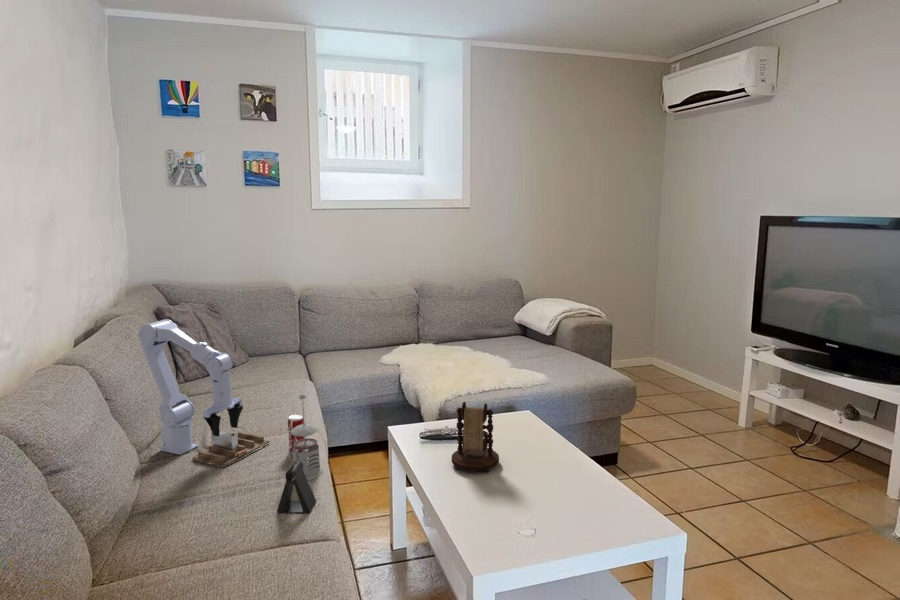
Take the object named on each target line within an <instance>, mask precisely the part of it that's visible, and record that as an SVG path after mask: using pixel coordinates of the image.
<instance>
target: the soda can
mask: <svg viewBox="0 0 900 600" xmlns="http://www.w3.org/2000/svg"><path fill="white" fill-rule="evenodd" d="M302 424H305V418H304V419H303V414H293V415H290V416H288V420H287V431H288V446H290V449H289V453H291V454H292V453H293V447H294V446H293V443H294V440H295V442H296V441H297V440H301V439H305V438H306V436H303V437H298V436H294V435H292V434H291V430H292V429H294V428H295V427H297V426H299V425H302ZM293 439H294V440H293ZM292 440H293V441H292ZM291 441H292V443H291ZM290 443H291V445H290ZM294 452H306V450H294Z"/></svg>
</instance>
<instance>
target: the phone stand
mask: <svg viewBox="0 0 900 600" xmlns="http://www.w3.org/2000/svg"><path fill="white" fill-rule="evenodd" d="M295 463H296V461H295V462H294V463H292V464H291V465H290V467H289V468H288V470H287V471H286V472H285V475H284V476H285V484H284V487H283V490H282V493H281V496H280V497H281V498H280V500H279V503H278V506H277V510H276V513H277V514H300V515H301V514H304V515H305V514H306V515H307V514H310V513H312V512H311V511H312V510H313V508H314V506H315V504H316V503H317V499H316V497H315V494H314V492H313V491H312V487H311V485H310V483H309V480H307V478H306V476H305V474H304V471H303V463H302V462H300V461H299V462H298V461H297V463H298V464H297V465H296V466H295V468H294V465H295ZM294 488H295V492H296V495H297V497H298V500H292V495H293V490H294Z"/></svg>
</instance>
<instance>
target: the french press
mask: <svg viewBox="0 0 900 600" xmlns="http://www.w3.org/2000/svg"><path fill="white" fill-rule="evenodd" d="M306 398H307V396H306V394H305V393H301V394H300V395H299V399H300V400H301V401H302V404H304V399H306ZM302 413H303V414H302V416H303V419H304V420H305V411H304V406H302ZM318 431H319V427H318V426H316V425H313V424H311V423H310V424H309V423H304V424H302V425H299V426H297V427H295V428H294V429H292V430H291V434H292V435H294V436H298V437H303V436H305V439H301V440H297V441H296V442H295V440H294V439H293V440H294V443H293V446H294V447H293V454H292V459H291V455H290V446H289V445H288V446H289V447H288V454H287V455H288V459H289V461H290V462H291V463H292V464H293V463H294V462H295V461H296V463H295V465H294V468H295V466H296V465H297V464H298V462H299V461H300V462H302V463H303V471H304V474H305V476H306V478H307V481H311V480H315V479H317V478H320V477H322V475H323V474H324V469H323V468H322V467H321V464H320V448H319V447H320V446H319V445H318V440H317V439H315V438H309V437H308V436H312V435H314V434H316V433H317V432H318ZM307 437H308V438H307ZM293 440H292V441H293ZM292 441H291V443H292ZM291 443H290V445H291ZM294 450H305V452H294ZM306 450H307V451H306Z"/></svg>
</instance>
